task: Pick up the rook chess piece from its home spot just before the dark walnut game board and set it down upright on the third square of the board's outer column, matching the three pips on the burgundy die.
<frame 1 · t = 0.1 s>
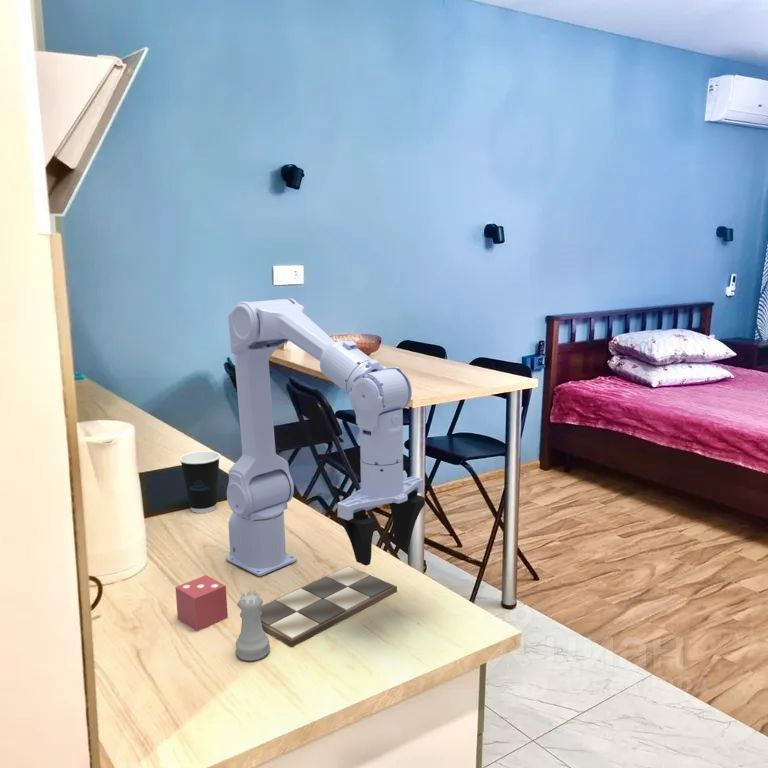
hand: (383, 553, 99), 10 cm above the kitchen counter, fingers open, 7 cm apart
game board: (323, 604, 105), on the kitchen counter
die: (202, 618, 102), on the kitchen counter
rook chess piece: (253, 654, 93), on the kitchen counter
dixie cup: (203, 509, 144), on the kitchen counter
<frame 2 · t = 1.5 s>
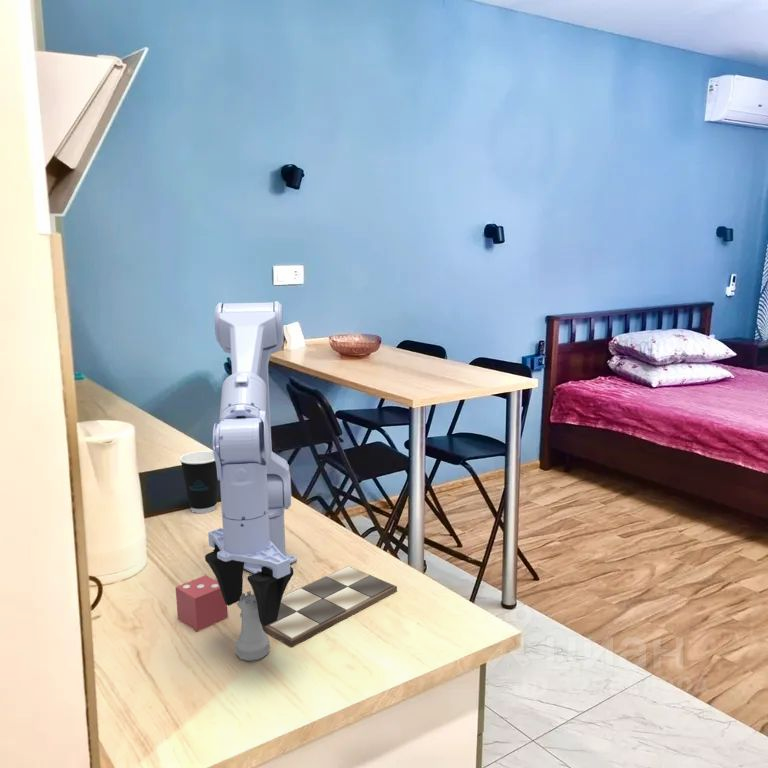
hand: (250, 612, 92), 6 cm above the kitchen counter, fingers open, 7 cm apart
nothing on the kitchen counter moved.
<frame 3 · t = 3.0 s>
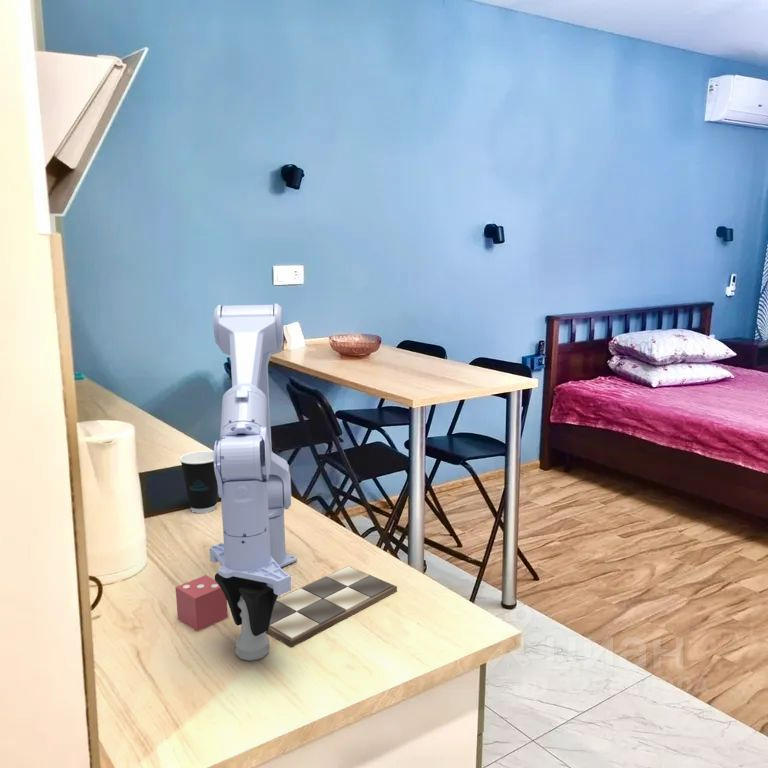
hand: (251, 627, 93), 4 cm above the kitchen counter, fingers closed on rook chess piece, 3 cm apart
rook chess piece: (253, 653, 93), on the kitchen counter, touching gripper
everything else where it was.
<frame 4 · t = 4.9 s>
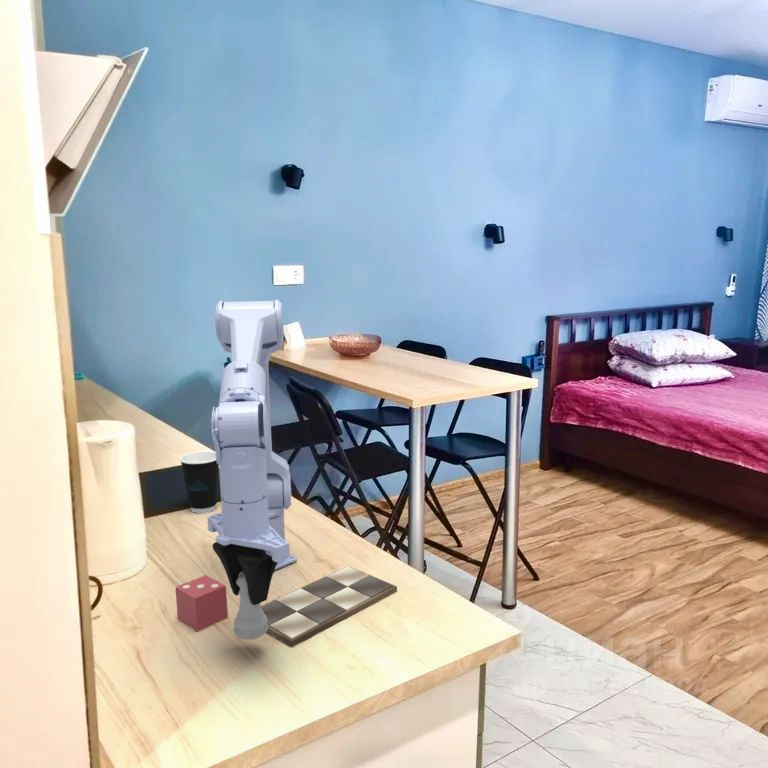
hand: (250, 596, 92), 8 cm above the kitchen counter, fingers closed on rook chess piece, 3 cm apart
rook chess piece: (251, 633, 93), point 3 cm above the kitchen counter, touching gripper
everything else where it was.
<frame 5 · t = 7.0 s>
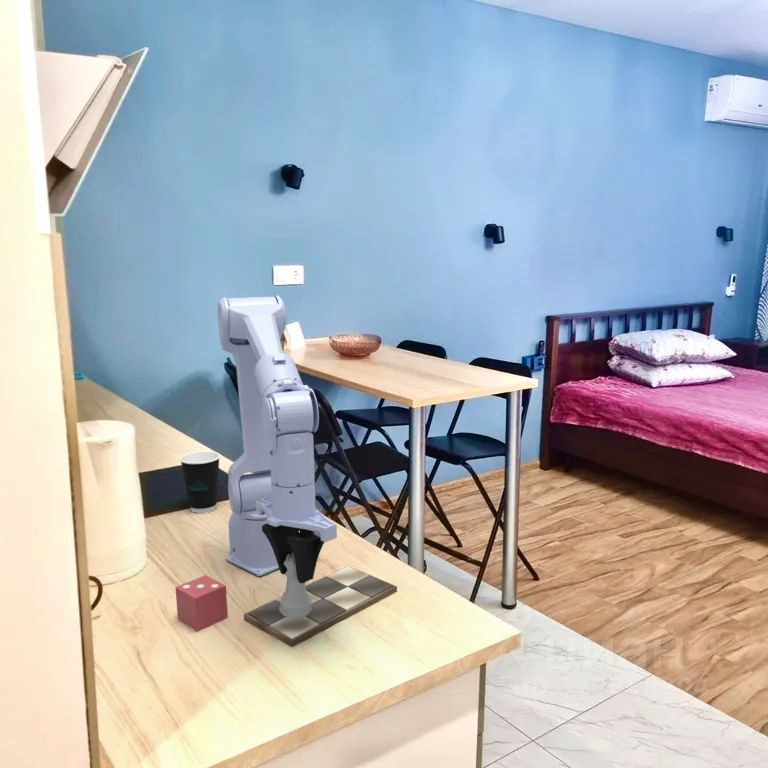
hand: (296, 575, 97), 8 cm above the kitchen counter, fingers closed on rook chess piece, 3 cm apart
rook chess piece: (295, 612, 98), point 3 cm above the kitchen counter, touching gripper
everything else where it was.
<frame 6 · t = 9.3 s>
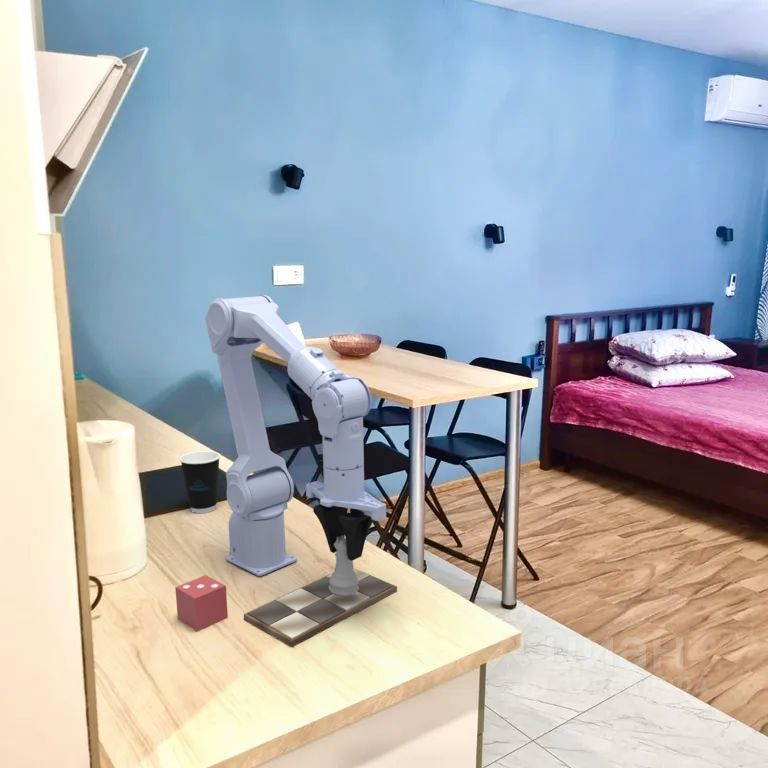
hand: (345, 554, 104), 8 cm above the kitchen counter, fingers closed on rook chess piece, 3 cm apart
rook chess piece: (343, 591, 105), point 2 cm above the kitchen counter, touching gripper
everything else where it was.
when the fingers open (6 cm above the kitchen counter, at t = 11.0 s): rook chess piece stays where it is, resting on game board.
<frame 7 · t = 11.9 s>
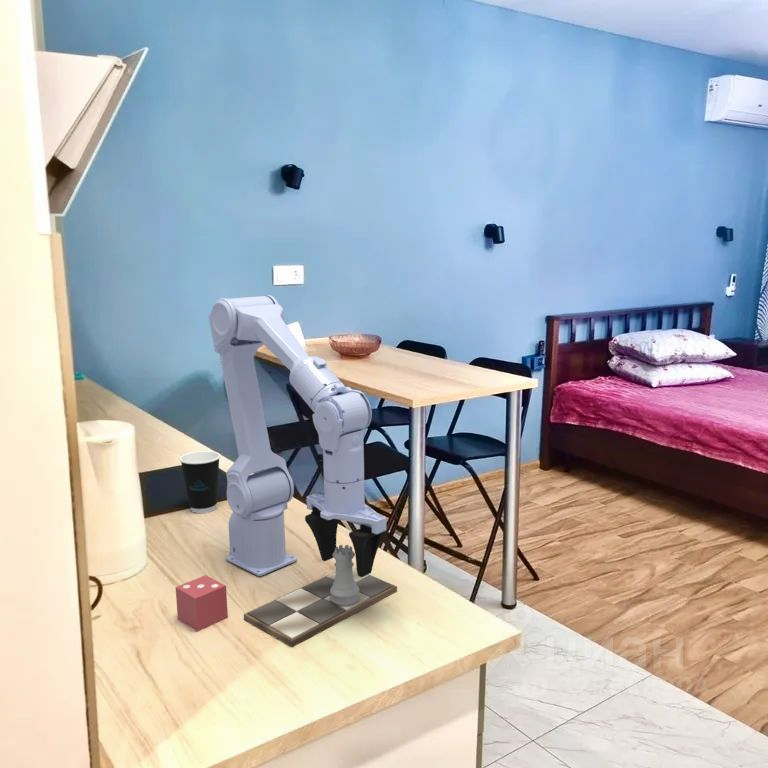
hand: (346, 566, 104), 6 cm above the kitchen counter, fingers open, 7 cm apart
rook chess piece: (344, 600, 105), point 1 cm above the kitchen counter, touching game board
everything else where it was.
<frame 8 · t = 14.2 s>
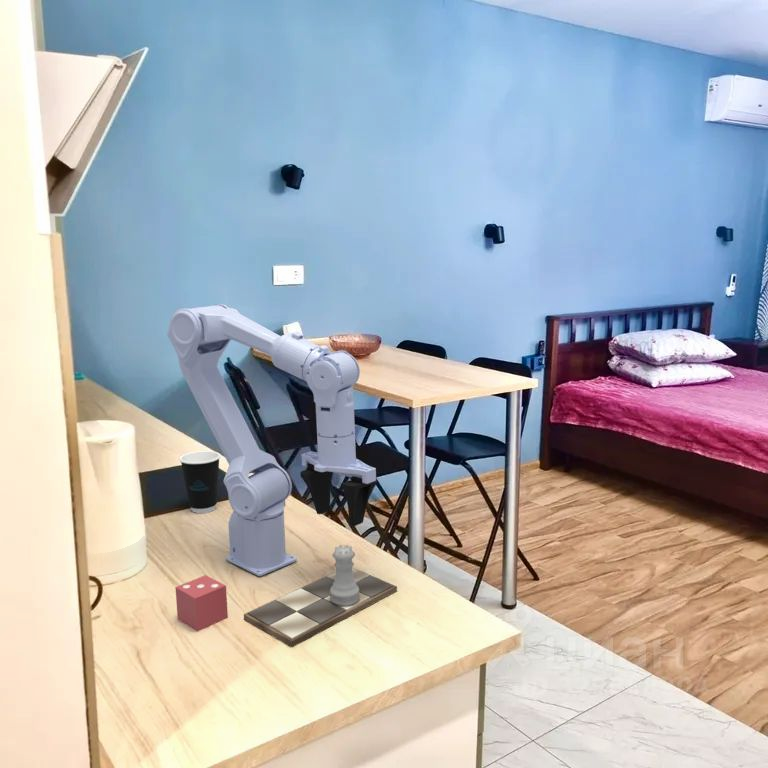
hand: (339, 518, 111), 10 cm above the kitchen counter, fingers open, 7 cm apart
nothing on the kitchen counter moved.
at the end: rook chess piece 0.6 cm from the target spot on the game board, point 0.8 cm above the game board's base; rook chess piece tilted 0°; the gripper is holding nothing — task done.
